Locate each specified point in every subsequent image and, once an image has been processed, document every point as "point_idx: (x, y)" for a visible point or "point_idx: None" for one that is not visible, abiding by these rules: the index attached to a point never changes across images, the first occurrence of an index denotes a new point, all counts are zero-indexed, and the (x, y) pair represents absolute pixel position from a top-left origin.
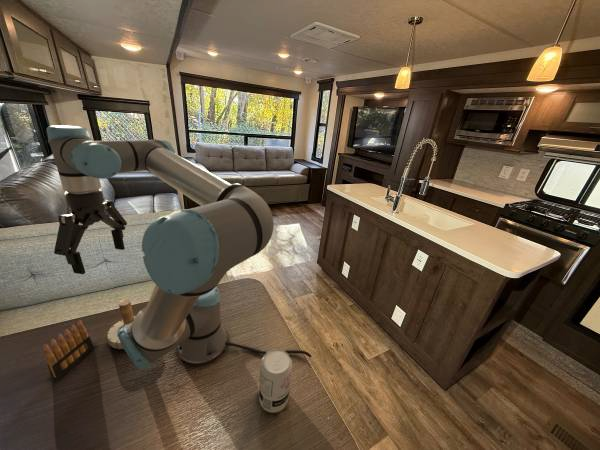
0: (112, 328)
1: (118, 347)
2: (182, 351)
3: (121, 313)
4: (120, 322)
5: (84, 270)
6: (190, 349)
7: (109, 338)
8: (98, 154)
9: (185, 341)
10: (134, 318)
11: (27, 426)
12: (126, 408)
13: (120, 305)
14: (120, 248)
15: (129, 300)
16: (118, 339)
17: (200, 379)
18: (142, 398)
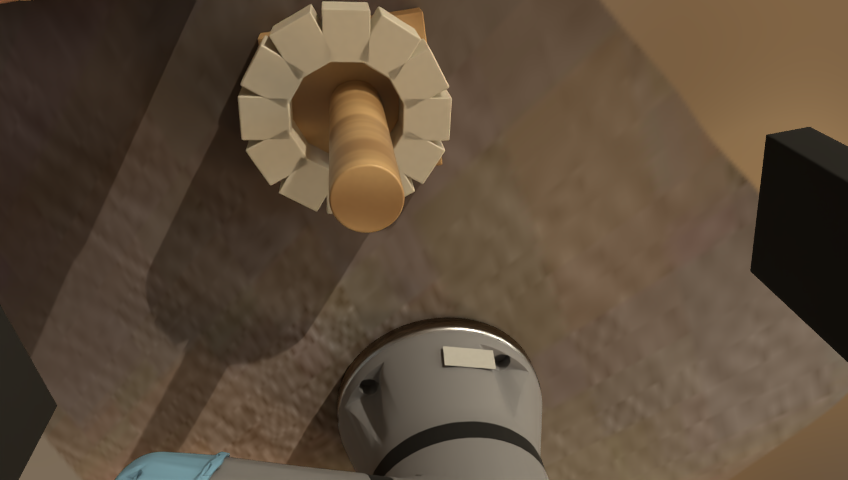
0: (306, 30)
1: (250, 140)
2: (349, 416)
3: (329, 164)
4: (362, 29)
5: (34, 439)
6: (355, 465)
7: (247, 84)
8: None
9: (365, 461)
10: (420, 80)
11: None
12: (106, 355)
13: (331, 203)
14: (767, 247)
15: (397, 212)
16: (265, 137)
17: None
18: (160, 371)
